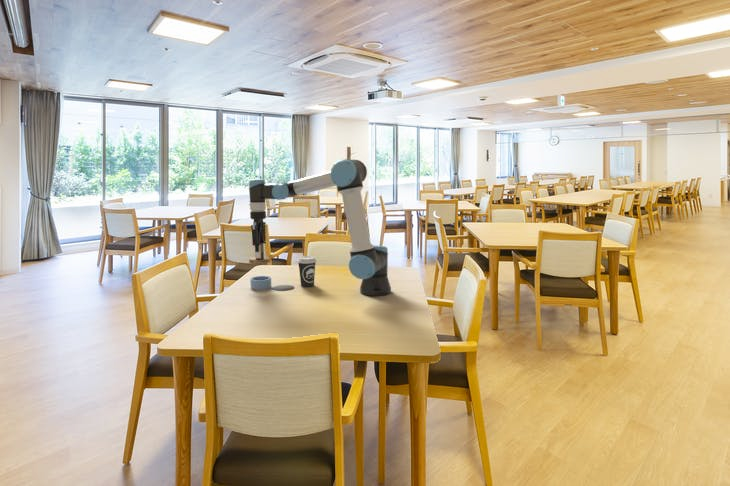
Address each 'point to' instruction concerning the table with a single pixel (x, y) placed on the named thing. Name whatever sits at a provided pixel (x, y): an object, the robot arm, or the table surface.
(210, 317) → the table surface
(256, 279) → the bowl
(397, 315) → the table surface
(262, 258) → the lid
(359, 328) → the table surface
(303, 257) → the coffee cup
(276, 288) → the mat
